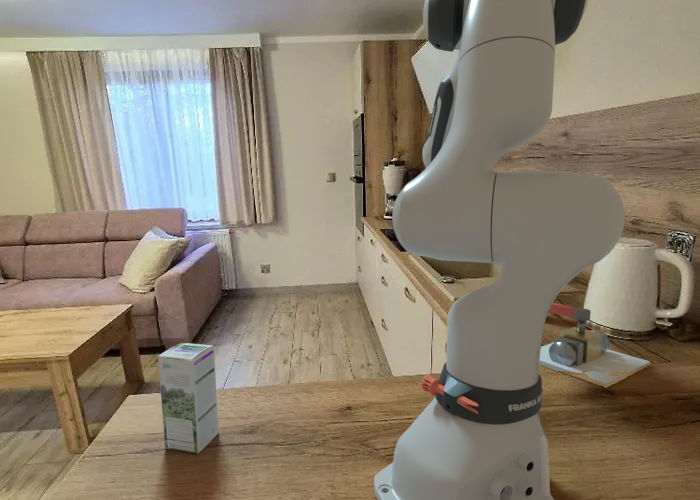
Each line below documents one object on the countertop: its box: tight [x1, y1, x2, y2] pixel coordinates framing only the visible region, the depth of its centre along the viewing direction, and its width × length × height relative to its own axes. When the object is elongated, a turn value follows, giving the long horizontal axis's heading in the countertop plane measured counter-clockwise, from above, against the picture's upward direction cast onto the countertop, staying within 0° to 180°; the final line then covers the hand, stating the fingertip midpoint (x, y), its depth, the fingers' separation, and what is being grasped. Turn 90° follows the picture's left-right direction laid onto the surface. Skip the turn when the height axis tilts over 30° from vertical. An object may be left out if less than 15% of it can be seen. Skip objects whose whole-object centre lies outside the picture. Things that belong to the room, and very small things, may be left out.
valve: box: [549, 320, 610, 366], centre depth 88 cm, size 15×6×9 cm, turn 123°
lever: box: [548, 302, 592, 322], centre depth 91 cm, size 3×12×2 cm, turn 33°
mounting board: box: [539, 342, 651, 385], centre depth 88 cm, size 19×18×1 cm
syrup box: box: [157, 342, 220, 455], centre depth 59 cm, size 6×6×14 cm
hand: (499, 240), depth 97 cm, fingers closed
